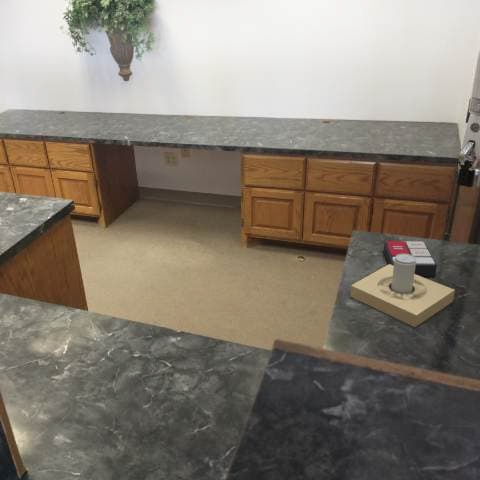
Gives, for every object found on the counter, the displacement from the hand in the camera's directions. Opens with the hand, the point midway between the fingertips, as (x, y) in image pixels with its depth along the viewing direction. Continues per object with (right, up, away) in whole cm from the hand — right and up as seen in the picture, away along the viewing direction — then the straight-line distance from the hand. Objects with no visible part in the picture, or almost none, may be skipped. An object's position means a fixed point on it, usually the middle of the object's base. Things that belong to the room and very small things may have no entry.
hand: (476, 179), depth 117 cm
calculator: (-2, -21, +28) cm, 35 cm away
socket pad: (-11, -29, +13) cm, 34 cm away
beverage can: (-11, -29, +13) cm, 34 cm away
